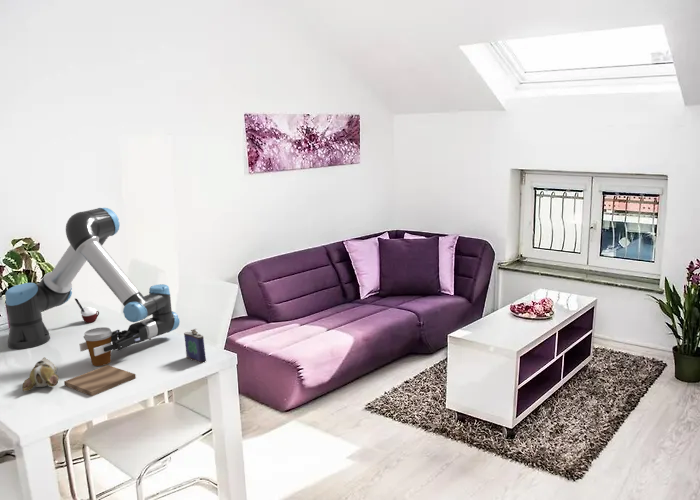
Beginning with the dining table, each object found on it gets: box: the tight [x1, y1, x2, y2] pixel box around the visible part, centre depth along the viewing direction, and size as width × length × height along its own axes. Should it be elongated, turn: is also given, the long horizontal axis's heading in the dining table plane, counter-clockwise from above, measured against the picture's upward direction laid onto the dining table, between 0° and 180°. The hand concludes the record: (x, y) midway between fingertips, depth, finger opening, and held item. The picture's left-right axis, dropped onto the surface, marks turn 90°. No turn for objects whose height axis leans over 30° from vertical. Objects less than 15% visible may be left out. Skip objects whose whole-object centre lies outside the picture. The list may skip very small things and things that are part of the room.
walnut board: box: [63, 364, 137, 397], centre depth 200 cm, size 16×16×2 cm
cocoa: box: [74, 298, 100, 324], centre depth 265 cm, size 10×6×12 cm
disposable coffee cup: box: [83, 327, 113, 367], centre depth 215 cm, size 10×10×12 cm
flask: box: [183, 328, 207, 364], centre depth 215 cm, size 10×3×12 cm, turn 50°
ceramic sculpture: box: [22, 357, 59, 392], centre depth 199 cm, size 11×9×15 cm
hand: (87, 349), depth 211 cm, fingers closed on disposable coffee cup, 8 cm apart
